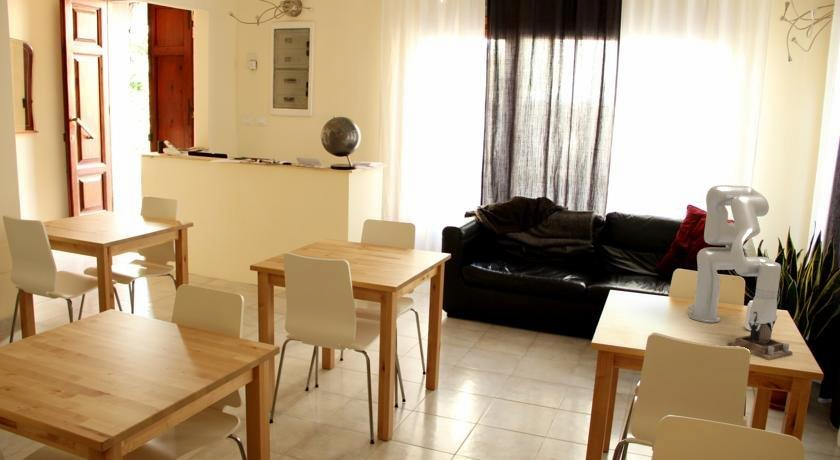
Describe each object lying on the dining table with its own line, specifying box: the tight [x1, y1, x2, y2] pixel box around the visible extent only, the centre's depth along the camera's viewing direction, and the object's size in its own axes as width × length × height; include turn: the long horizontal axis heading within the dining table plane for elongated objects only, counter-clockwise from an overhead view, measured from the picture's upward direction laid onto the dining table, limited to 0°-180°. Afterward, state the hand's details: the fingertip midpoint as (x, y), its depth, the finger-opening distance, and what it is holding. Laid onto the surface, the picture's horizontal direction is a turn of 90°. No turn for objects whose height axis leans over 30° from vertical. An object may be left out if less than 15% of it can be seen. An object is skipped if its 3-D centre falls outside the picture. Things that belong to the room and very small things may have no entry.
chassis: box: [726, 334, 794, 361], centre depth 280 cm, size 18×14×4 cm
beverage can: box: [744, 300, 758, 332], centre depth 304 cm, size 8×8×12 cm
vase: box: [753, 323, 772, 345], centre depth 279 cm, size 7×7×9 cm
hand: (760, 338), depth 279 cm, fingers closed on vase, 6 cm apart
